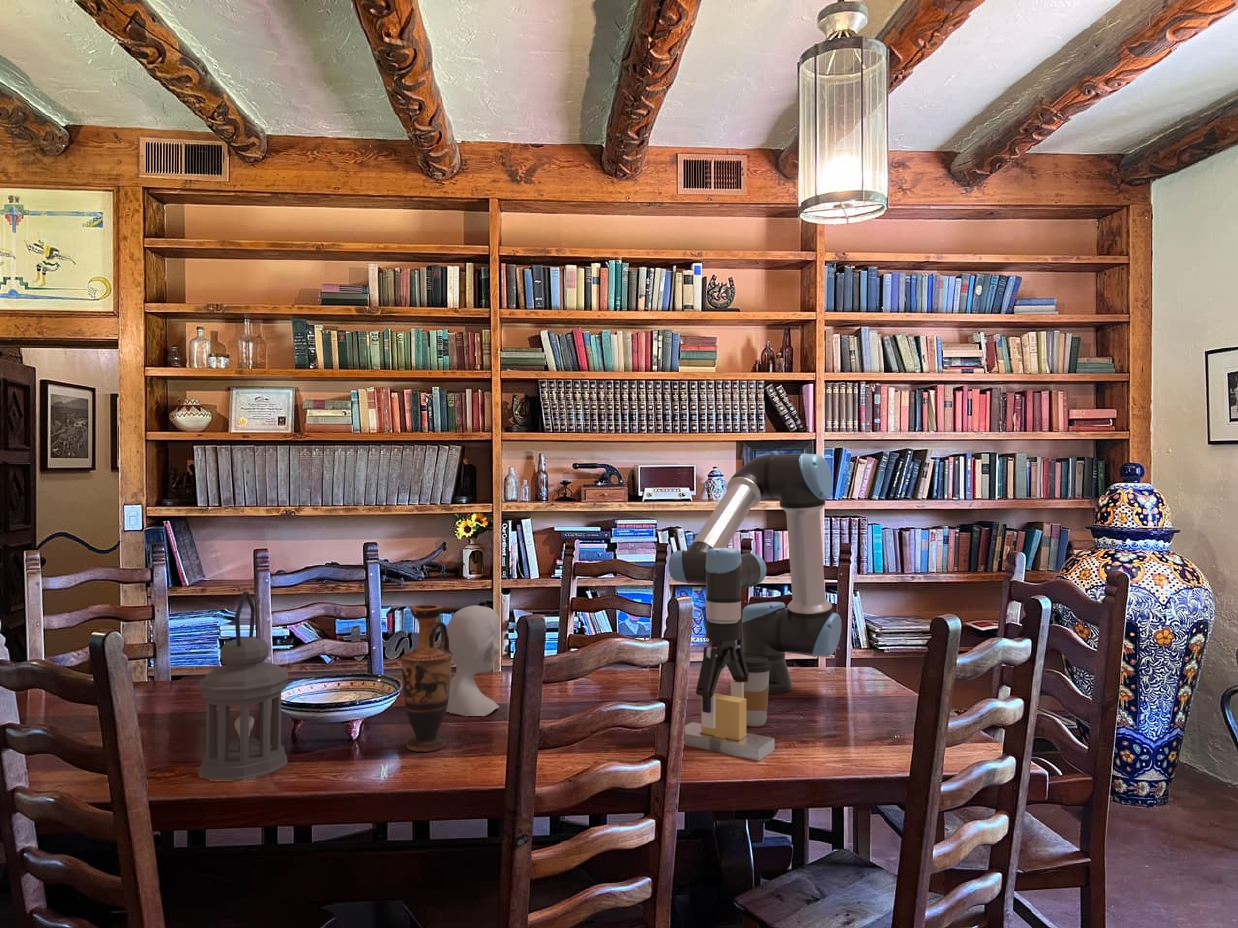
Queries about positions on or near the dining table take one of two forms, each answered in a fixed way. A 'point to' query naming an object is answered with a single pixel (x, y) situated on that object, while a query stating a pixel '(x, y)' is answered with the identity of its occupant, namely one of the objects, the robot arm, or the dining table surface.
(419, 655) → the vase
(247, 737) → the lantern
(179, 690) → the dining table surface
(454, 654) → the head bust
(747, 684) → the coffee cup
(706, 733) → the yellow block
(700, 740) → the grey slotted base plate
